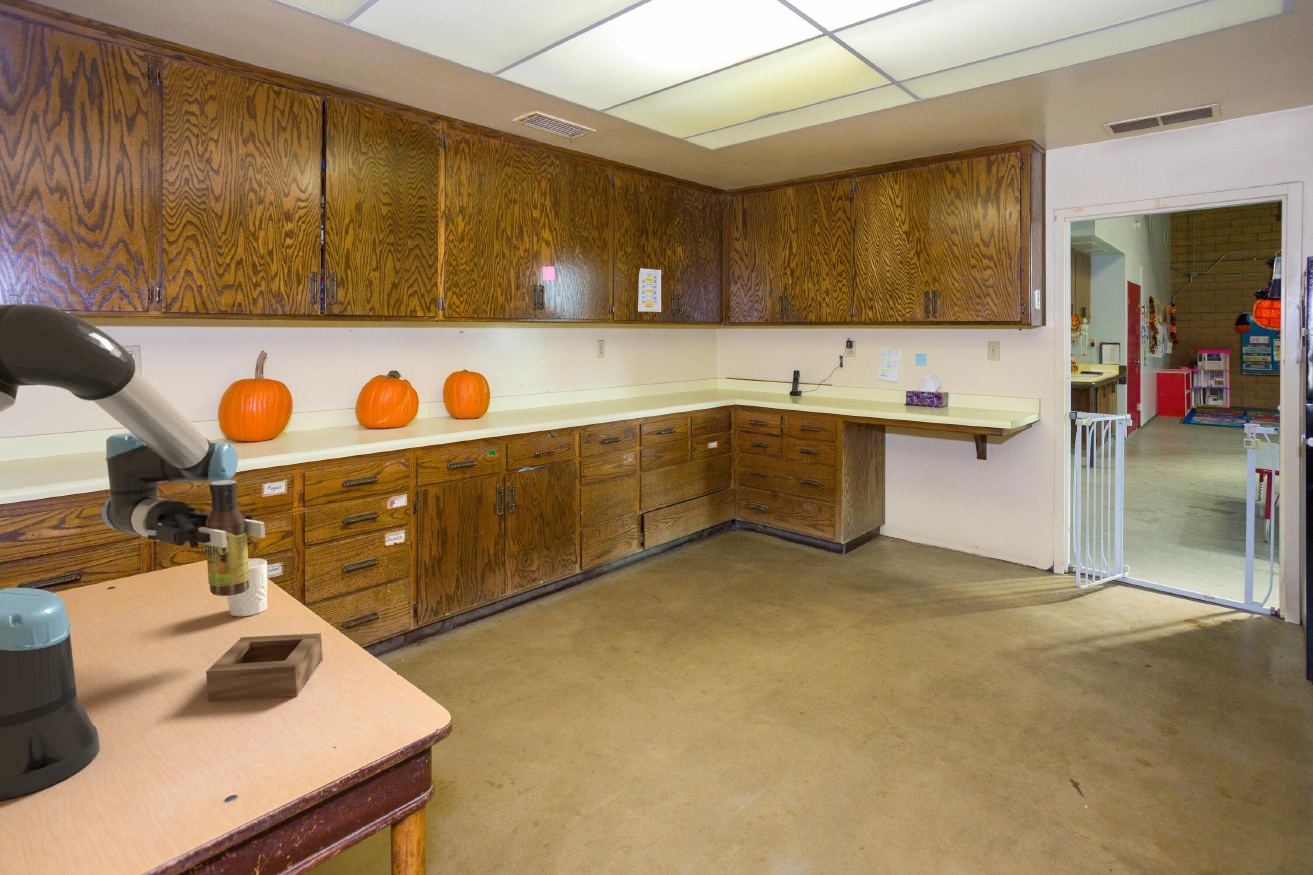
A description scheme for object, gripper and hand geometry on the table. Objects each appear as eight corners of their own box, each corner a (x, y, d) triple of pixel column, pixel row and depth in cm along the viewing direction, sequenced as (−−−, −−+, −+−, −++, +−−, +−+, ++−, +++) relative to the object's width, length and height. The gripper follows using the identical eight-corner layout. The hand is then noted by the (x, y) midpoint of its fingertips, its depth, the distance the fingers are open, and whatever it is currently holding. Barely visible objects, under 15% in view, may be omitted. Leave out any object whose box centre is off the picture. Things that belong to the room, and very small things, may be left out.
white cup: (250, 619, 147) (246, 571, 145) (217, 615, 149) (213, 568, 147) (278, 605, 154) (275, 559, 153) (247, 602, 156) (244, 557, 155)
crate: (297, 696, 116) (294, 666, 115) (208, 701, 114) (206, 671, 113) (322, 660, 128) (320, 632, 128) (243, 664, 127) (241, 637, 126)
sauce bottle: (201, 594, 128) (191, 483, 126) (234, 583, 134) (226, 477, 131) (226, 600, 126) (216, 486, 123) (258, 588, 131) (250, 479, 129)
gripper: (218, 527, 146) (295, 542, 135) (110, 552, 129) (189, 571, 118) (215, 490, 145) (292, 502, 134) (106, 511, 128) (185, 526, 117)
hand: (243, 534), depth 126 cm, fingers closed on sauce bottle, 6 cm apart
